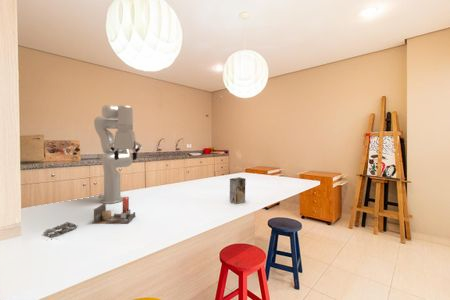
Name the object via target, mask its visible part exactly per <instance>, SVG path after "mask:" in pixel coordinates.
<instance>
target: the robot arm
mask: <svg viewBox="0 0 450 300" xmlns="http://www.w3.org/2000/svg"><path fill="white" fill-rule="evenodd" d="M133 118H134V110H133V106H131V105H126V104H125V105H124V104H123V105H115V104H104V105H102V108H101V115H100V116H97V117H95V118H94V119H93V120H94V121H93V127H94V129H95V131H96V133H97V134H98V137H99V140H100V145H101V149H102V152H103V154H104V155H102V157H101V162H102V163H101V164H102V168H103V194H98V199H101V203H102V204H107V205H108V204H109V205H110V204H112V205H113V204H117V203H120V202H123V197H122V196H121V173H120V171H118V168H126V167H130V166H131V165H132V163H133V161H135V160H137V159H138V157H137V156H138V152H139V151H140V150H141V148H142V146H143V145H142V144H141V143H139V142H137V140H136V134H135V131H134V119H133ZM110 129H111V130H112V129H113V130H116V131H115V133H114V134H115V135H114V134H113V133H112V132H111V131H110ZM97 134H96V135H97ZM136 147H137V148H136ZM130 150H132V155H131V152H130ZM132 160H133V161H132Z"/></svg>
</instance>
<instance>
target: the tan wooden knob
mask: <svg viewBox="0 0 450 300" xmlns="http://www.w3.org/2000/svg"><path fill="white" fill-rule="evenodd" d="M111 216H112V211H111V210H109V209H106V211H103V212H102V221H107V219H111Z"/></svg>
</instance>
